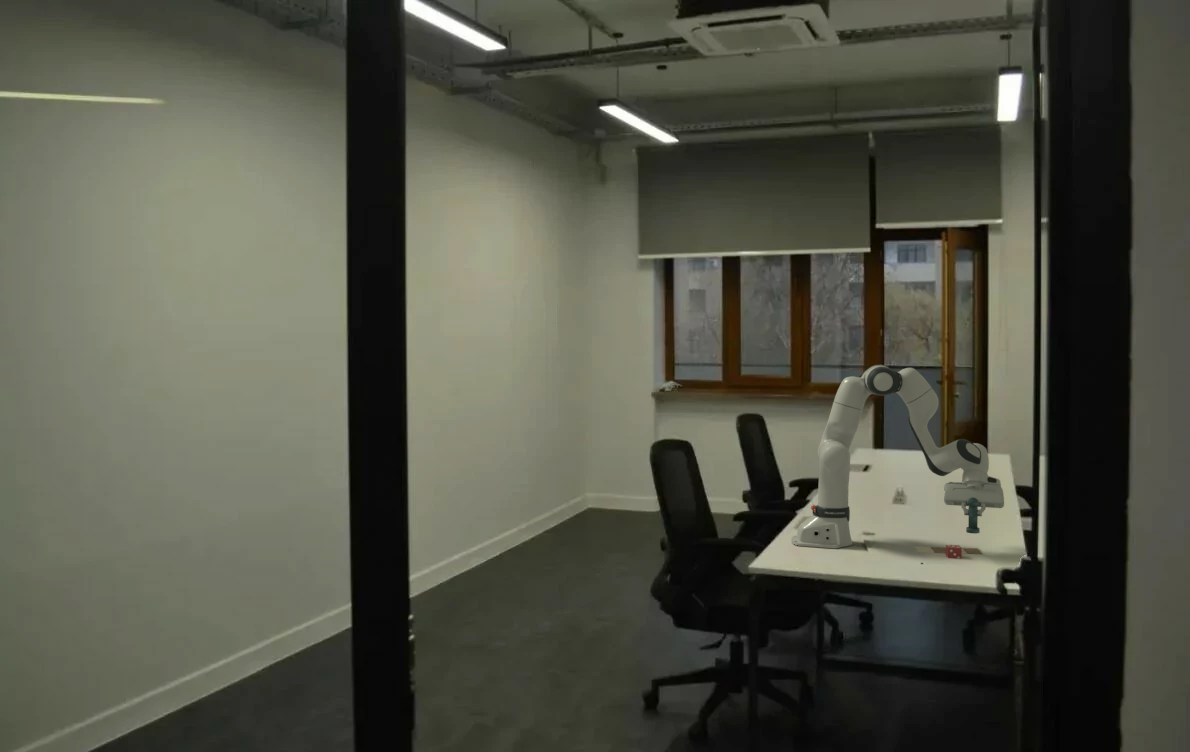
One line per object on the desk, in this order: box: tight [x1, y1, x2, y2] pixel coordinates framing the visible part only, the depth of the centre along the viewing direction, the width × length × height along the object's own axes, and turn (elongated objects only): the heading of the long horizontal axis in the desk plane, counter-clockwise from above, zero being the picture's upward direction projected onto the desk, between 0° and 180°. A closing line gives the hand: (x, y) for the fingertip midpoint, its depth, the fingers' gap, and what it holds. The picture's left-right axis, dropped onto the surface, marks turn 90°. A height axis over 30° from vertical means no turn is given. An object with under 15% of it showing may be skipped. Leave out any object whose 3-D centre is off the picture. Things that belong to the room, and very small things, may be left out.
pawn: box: [965, 497, 981, 534], centre depth 343 cm, size 4×4×12 cm
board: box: [914, 545, 984, 555], centre depth 345 cm, size 23×10×1 cm, turn 80°
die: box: [945, 544, 963, 559], centre depth 335 cm, size 4×5×5 cm
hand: (972, 514), depth 342 cm, fingers closed on pawn, 3 cm apart
